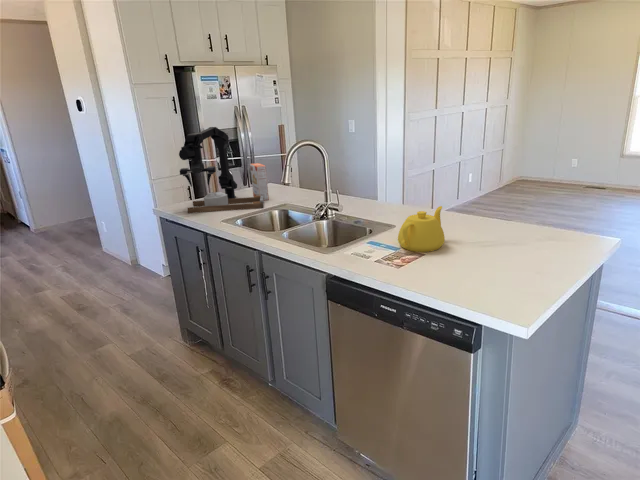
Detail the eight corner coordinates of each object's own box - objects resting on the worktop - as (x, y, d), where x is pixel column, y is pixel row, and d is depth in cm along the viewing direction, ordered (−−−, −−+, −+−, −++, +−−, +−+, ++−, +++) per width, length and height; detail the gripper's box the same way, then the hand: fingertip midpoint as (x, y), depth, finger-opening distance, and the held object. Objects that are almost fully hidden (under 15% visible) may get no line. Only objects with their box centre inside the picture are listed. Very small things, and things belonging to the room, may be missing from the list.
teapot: (422, 233, 183) (423, 202, 179) (460, 242, 170) (462, 208, 166) (384, 248, 168) (384, 214, 163) (422, 258, 155) (423, 222, 151)
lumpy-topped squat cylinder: (230, 206, 246) (229, 192, 243) (211, 211, 237) (209, 196, 234) (220, 204, 253) (218, 190, 250) (201, 209, 244) (199, 194, 241)
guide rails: (193, 206, 252) (192, 199, 250) (263, 201, 255) (263, 194, 254) (188, 213, 236) (187, 206, 235) (263, 208, 239) (262, 201, 238)
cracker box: (252, 197, 268) (249, 163, 261) (262, 196, 270) (259, 162, 263) (259, 201, 255) (256, 166, 249) (269, 200, 258) (266, 165, 251)
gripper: (175, 160, 226) (180, 189, 230) (212, 158, 228) (215, 187, 233) (179, 158, 236) (183, 186, 241) (214, 155, 238) (217, 183, 243)
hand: (200, 185), depth 239 cm, fingers open, 9 cm apart
